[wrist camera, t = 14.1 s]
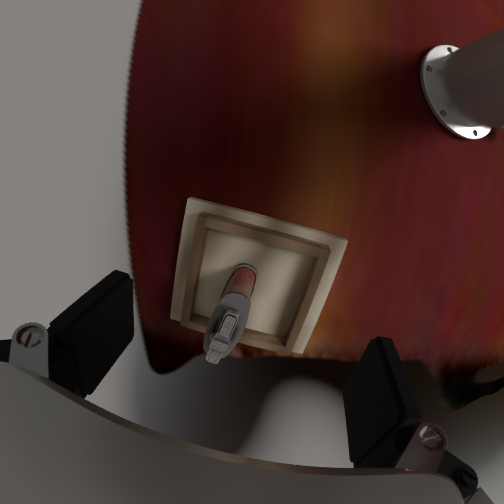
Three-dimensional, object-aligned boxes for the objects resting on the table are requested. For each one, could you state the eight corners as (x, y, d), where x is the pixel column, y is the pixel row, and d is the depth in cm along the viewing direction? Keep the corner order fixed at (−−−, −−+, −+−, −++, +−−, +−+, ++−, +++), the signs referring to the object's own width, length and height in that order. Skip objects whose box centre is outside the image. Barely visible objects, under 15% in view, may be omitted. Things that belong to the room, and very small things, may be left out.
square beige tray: (345, 238, 30) (352, 247, 27) (301, 348, 36) (302, 363, 33) (191, 196, 30) (181, 201, 27) (173, 313, 36) (164, 326, 33)
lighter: (238, 323, 34) (223, 379, 25) (213, 313, 34) (190, 366, 24) (263, 269, 31) (255, 317, 22) (235, 257, 31) (215, 301, 22)
